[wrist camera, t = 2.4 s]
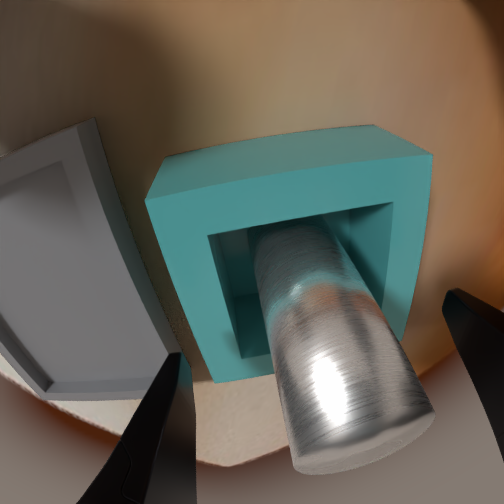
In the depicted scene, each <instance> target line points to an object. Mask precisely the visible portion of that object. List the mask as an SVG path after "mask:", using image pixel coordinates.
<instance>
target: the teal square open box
mask: <svg viewBox="0 0 504 504" xmlns="http://www.w3.org/2000/svg"><path fill="white" fill-rule="evenodd" d="M432 159H433V154H431V153H429V152H427V151H425V150H424V149H422V148H420V147H418V146H416V145H414V144H412V143H410V142H408V141H406V140H404V139H402V138H400V137H398V136H396V135H394V134H392V133H390V132H388V131H386V130H384V129H382V128H379V127H377V126H375V125H362V126H350V127H339V128H329V129H320V130H312V131H304V132H296V133H289V134H282V135H275V136H268V137H262V138H256V139H250V140H244V141H239V142H233V143H228V144H223V145H218V146H213V147H208V148H203V149H198V150H194V151H189V152H185V153H180V154H176V155H172V156H167V157H165V158H164V160H163V162H162V164H161V166H160V169H159V171H158V173H157V175H156V177H155V179H154V181H153V183H152V185H151V188H150V190H149V192H148V194H147V196H146V198H145V204H146V207H147V210H148V213H149V216H150V219H151V222H152V225H153V228H154V231H155V234H156V237H157V240H158V243H159V246H160V249H161V251H162V254H163V257H164V260H165V263H166V265H167V268H168V271H169V273H170V276H171V279H172V282H173V284H174V287H175V289H176V292H177V295H178V297H179V300H180V302H181V305H182V307H183V310H184V312H185V315H186V317H187V320H188V322H189V325H190V327H191V330H192V332H193V335H194V337H195V339H196V342H197V344H198V346H199V349H200V351H201V353H202V356H203V358H204V360H205V363H206V365H207V367H208V369H209V372H210V374H211V376H212V378H213V381H214V383H222V382H229V381H235V380H241V379H247V378H253V377H259V376H264V375H269V374H275V372H274V367H273V362H272V357H271V352H270V347H269V342H268V337H267V332H266V327H265V322H264V318H263V313H262V308H261V303H260V298H259V293H258V288H257V283H256V278H255V273H254V268H253V263H252V258H251V253H250V248H249V243H248V232H249V228H250V227H252V226H258V225H263V224H268V223H274V222H279V221H284V220H290V219H295V218H301V217H306V216H312V215H318V214H321V215H322V216H323V218H324V219H325V221H326V222H327V224H328V225H329V227H330V228H331V230H332V231H333V233H334V234H335V236H336V237H337V239H338V240H339V242H340V244H341V245H342V247H343V248H344V250H345V251H346V253H347V255H348V256H349V258H350V259H351V261H352V263H353V264H354V266H355V267H356V269H357V271H358V272H359V274H360V276H361V277H362V279H363V281H364V282H365V284H366V286H367V287H368V289H369V291H370V292H371V294H372V296H373V297H374V299H375V301H376V302H377V304H378V306H379V308H380V309H381V311H382V313H383V314H384V316H385V318H386V320H387V321H388V323H389V325H390V327H391V329H392V330H393V332H394V334H395V336H396V338H397V339H398V341H399V342H400V341H402V338H403V334H404V331H405V327H406V323H407V319H408V315H409V311H410V307H411V303H412V298H413V294H414V289H415V285H416V280H417V275H418V270H419V265H420V259H421V254H422V248H423V242H424V235H425V228H426V221H427V213H428V205H429V196H430V186H431V174H432Z"/></svg>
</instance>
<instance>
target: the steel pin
mask: <svg viewBox="0 0 504 504" xmlns="http://www.w3.org/2000/svg"><path fill="white" fill-rule="evenodd" d="M248 243H249V248H250V253H251V258H252V263H253V268H254V273H255V278H256V283H257V288H258V293H259V298H260V303H261V308H262V313H263V318H264V322H265V327H266V332H267V337H268V342H269V347H270V352H271V357H272V362H273V367H274V372H275V377H276V382H277V387H278V392H279V397H280V402H281V406H282V411H283V416H284V421H285V426H286V431H287V436H288V441H289V446H290V450H291V456H292V461H293V465H294V468H295V470H296V471H298V472H300V473H303V474H310V475H311V474H312V475H321V474H331V473H337V472H343V471H347V470H351V469H354V468H358V467H361V466H364V465H367V464H370V463H373V462H375V461H378V460H380V459H382V458H384V457H386V456H389V455H390V454H392V453H394V452H396V451H398V450H400V449H402V448H403V447H405V446H406V445H408V444H410V443H411V442H412V441H414V440H415V439H417V438H418V437H419V436H420V435H421V434H422V433H424V432H425V431H426V430H427V429H428V428H429V426H430V425H431V424H432V422H433V421H434V419H435V411H434V409H433V407H432V405H431V403H430V401H429V399H428V397H427V395H426V393H425V391H424V389H423V387H422V385H421V383H420V381H419V379H418V377H417V375H416V373H415V371H414V369H413V367H412V365H411V364H410V362H409V360H408V358H407V356H406V354H405V352H404V350H403V349H402V347H401V345H400V343H399V341H398V339H397V338H396V336H395V334H394V332H393V330H392V329H391V327H390V325H389V323H388V321H387V320H386V318H385V316H384V314H383V313H382V311H381V309H380V308H379V306H378V304H377V302H376V301H375V299H374V297H373V296H372V294H371V292H370V291H369V289H368V287H367V286H366V284H365V282H364V281H363V279H362V277H361V276H360V274H359V272H358V271H357V269H356V267H355V266H354V264H353V263H352V261H351V259H350V258H349V256H348V255H347V253H346V251H345V250H344V248H343V247H342V245H341V244H340V242H339V240H338V239H337V237H336V236H335V234H334V233H333V231H332V230H331V228H330V227H329V225H328V224H327V222H326V221H325V219H324V218H323V216H322V215H321V214H318V215H312V216H306V217H301V218H295V219H290V220H284V221H279V222H274V223H268V224H263V225H258V226H252V227H250V228H249V232H248Z"/></svg>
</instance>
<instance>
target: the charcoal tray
mask: <svg viewBox="0 0 504 504" xmlns="http://www.w3.org/2000/svg"><path fill="white" fill-rule="evenodd" d="M172 352H182V350H181V348H180V345H179V343H178V341H177V339H176V337H175V335H174V333H173V331H172V329H171V326H170V324H169V322H168V320H167V318H166V315H165V313H164V311H163V309H162V307H161V304H160V302H159V300H158V297H157V295H156V293H155V290H154V288H153V286H152V283H151V281H150V279H149V276H148V274H147V271H146V269H145V266H144V264H143V261H142V259H141V256H140V254H139V251H138V249H137V246H136V243H135V241H134V238H133V236H132V233H131V230H130V227H129V225H128V222H127V219H126V216H125V214H124V211H123V208H122V205H121V202H120V199H119V196H118V193H117V190H116V187H115V184H114V181H113V178H112V175H111V172H110V169H109V166H108V162H107V159H106V156H105V153H104V149H103V146H102V142H101V139H100V135H99V132H98V128H97V124H96V121H95V117H94V118H91V119H88V120H86V121H83V122H80V123H78V124H75V125H72V126H70V127H67V128H65V129H62V130H60V131H57V132H55V133H52V134H50V135H48V136H45V137H43V138H41V139H39V140H36V141H34V142H32V143H30V144H28V145H25V146H23V147H21V148H19V149H17V150H15V151H13V152H11V153H9V154H7V155H5V156H3V157H1V158H0V353H1V354H2V356H3V357H4V358H5V359H6V360H7V361H8V363H9V364H10V365H11V366H12V367H13V368H14V370H15V371H16V372H17V373H18V374H19V375H20V376H21V377H22V378H23V380H24V381H25V382H26V383H27V384H28V385H29V386H30V387H31V388H32V389H33V390H34V391H35V392H36V393H37V394H38V395H39V396H40V397H41V398H42V399H43V400H59V401H102V400H128V399H143V397H144V396H145V394H146V392H147V390H148V389H149V387H150V385H151V383H152V382H153V380H154V378H155V376H156V375H157V373H158V371H159V370H160V368H161V366H162V364H163V363H164V361H165V359H166V358H167V356H168V354H169V353H172ZM182 353H183V352H182Z"/></svg>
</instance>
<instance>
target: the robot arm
mask: <svg viewBox="0 0 504 504" xmlns="http://www.w3.org/2000/svg"><path fill="white" fill-rule="evenodd" d="M442 313H443V316H444V318H445V320H446V323H447V325H448V328H449V330H450V333H451V335H452V338H453V340H454V343H455V345H456V348H457V350H458V352H459V354H460V356H461V358H462V360H463V362H464V365H465V367H466V369H467V371H468V373H469V375H470V377H471V379H472V382H473V384H474V386H475V388H476V391H477V393H478V395H479V397H480V400H481V402H482V404H483V407H484V409H485V412H486V414H487V416H488V419H489V422H490V424H491V427H492V429H493V432H494V435H495V438H496V441H497V443H498V446H499V449H500V452H501V455H502V458H503V461H504V313H503V312H502V311H500V310H498V309H496V308H494V307H493V306H491V305H489V304H487V303H485V302H484V301H482V300H480V299H478V298H476V297H474V296H472V295H471V294H469V293H467V292H465V291H463V290H461V289H459V288H454V289H451V290H448V291H447V293H446V296H445V299H444V303H443V306H442ZM196 494H197V493H196V412H195V402H194V393H193V384H192V374H191V368H190V366H189V364H188V362H187V360H186V358H185V356H184V354H183V353H182V352H172V353H169V354H168V356H167V358H166V359H165V361H164V363H163V364H162V366H161V368H160V370H159V371H158V373H157V375H156V376H155V378H154V380H153V382H152V383H151V385H150V387H149V389H148V390H147V392H146V394H145V396H144V397H143V399H142V401H141V403H140V404H139V406H138V408H137V410H136V411H135V413H134V415H133V417H132V418H131V420H130V422H129V424H128V425H127V427H126V429H125V431H124V433H123V434H122V436H121V438H120V440H119V441H118V443H117V445H116V447H115V448H114V450H113V452H112V454H111V455H110V457H109V459H108V460H107V462H106V463H105V465H104V466H103V468H102V469H101V471H100V472H99V474H98V475H97V476H96V478H95V479H94V481H93V482H92V483H91V485H90V486H89V487H88V489H87V490H86V492H85V493H84V495H83V496H82V497H81V498H80V500H79V501H78V502H77V503H76V504H197V495H196Z"/></svg>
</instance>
